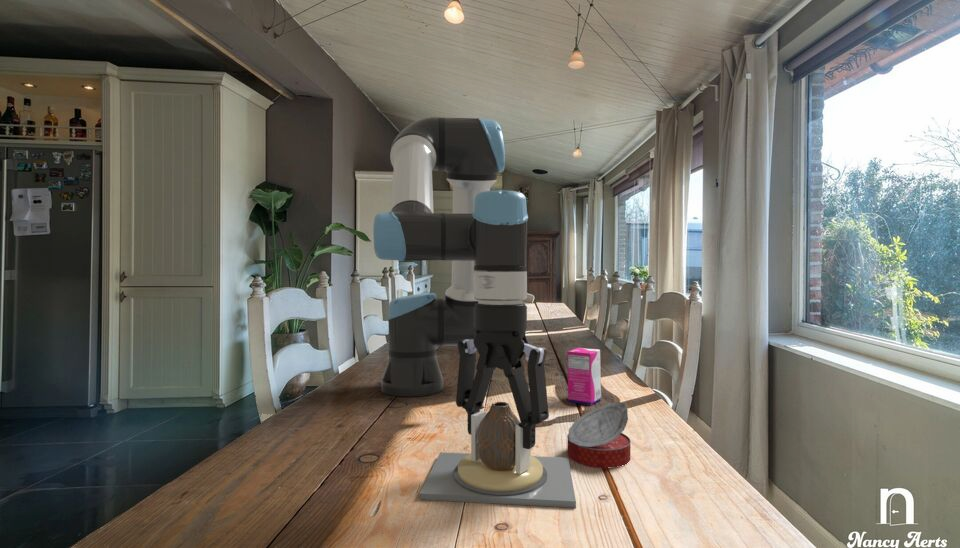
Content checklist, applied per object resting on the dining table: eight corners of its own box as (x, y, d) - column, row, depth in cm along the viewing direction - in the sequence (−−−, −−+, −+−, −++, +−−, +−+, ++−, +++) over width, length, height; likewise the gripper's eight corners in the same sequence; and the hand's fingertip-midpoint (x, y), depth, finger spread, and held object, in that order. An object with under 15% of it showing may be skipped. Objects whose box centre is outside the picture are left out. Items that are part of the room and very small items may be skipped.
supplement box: (577, 396, 114) (577, 347, 114) (601, 400, 110) (602, 349, 110) (566, 401, 109) (566, 350, 109) (591, 406, 106) (591, 353, 105)
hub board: (440, 457, 77) (440, 444, 77) (568, 462, 75) (568, 450, 75) (419, 499, 63) (419, 484, 63) (575, 507, 61) (575, 491, 61)
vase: (504, 480, 64) (504, 414, 64) (466, 466, 69) (465, 404, 69) (534, 464, 70) (534, 403, 70) (497, 452, 74) (496, 394, 74)
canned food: (625, 497, 74) (631, 451, 69) (560, 479, 78) (560, 435, 73) (633, 440, 83) (638, 397, 78) (574, 427, 87) (575, 385, 82)
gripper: (430, 300, 72) (430, 455, 72) (549, 307, 60) (549, 492, 60) (461, 297, 78) (461, 441, 78) (576, 303, 66) (575, 472, 66)
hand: (500, 463), depth 69 cm, fingers closed on vase, 7 cm apart
